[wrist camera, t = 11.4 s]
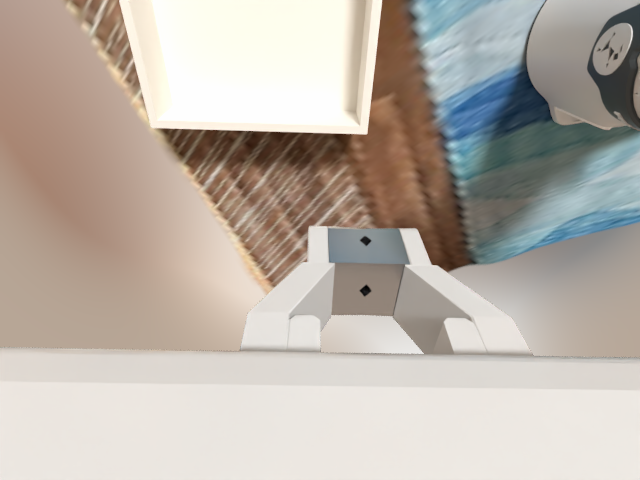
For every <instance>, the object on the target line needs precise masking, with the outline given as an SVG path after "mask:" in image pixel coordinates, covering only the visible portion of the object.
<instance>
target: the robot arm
mask: <svg viewBox="0 0 640 480" xmlns="http://www.w3.org/2000/svg"><path fill="white" fill-rule="evenodd" d="M527 69H528V74H529V77H530V80H531V82H532V84H533V86H534V87H535V89H536V90H537V91H538V92H539V93H540V94H541V95H542V96H543V97H544V98H545V99H546V100H547V102H548V104H549V108H550V113H551V116H552V119H553V120H554V122H556V123H558V124H560V125H571V124H577V123H583V122H586V123H589V124H591V125H593V126H596V127H598V128H600V129H604V130H610V129H611V128H612V127H622V126H629V127H631V128H633V129H635V130H638V131H640V0H547V1H546V2H545V4H544V6H543V7H542V9H541V11H540V13H539V14H538V17H537V19H536V21H535V23H534V25H533V28H532V31H531V34H530V38H529V42H528V47H527ZM331 315H378V316H379V315H381V316H393V318H394V319H395V320H396V322H397V323H398V324H399V325H400V326H401V327H402V328H403V330H404V331H405V332H406V333H407V334H408V335H409V336H410V338H411V339H412V340H413V341H414V342H415V343H416V345H417V346H418V347H419V348H420V349H421V350H422V352H423V353H424V354H385V353H384V354H383V353H321V342H320V341H321V339H320V338H321V337H320V332H321V331H322V329H323V328H324V326H325V325H326V323H327V322H328V321H329V319H330V318H331ZM0 480H640V358H630V357H628V358H627V357H624V358H623V357H557V356H556V357H554V356H533V354H532V352H531V350H530V349H529V347H528V345H527V343H526V341H525V340H524V338H523V336H522V334H521V332H520V331H519V329H518V327H517V325H516V324H515V322H514V320H513V318H512V317H510V316H508V315H507V314H506V313H504V312H503V311H502V310H500V309H498V308H497V307H496V306H494V305H493V304H492V303H490V302H489V301H487V300H486V299H484V298H483V297H482V296H480V295H479V294H477V293H476V292H474V291H473V290H472V289H470V288H469V287H467V286H466V285H464V284H463V283H461V282H460V281H459V280H457V279H456V278H454V277H453V276H452V275H450V274H449V273H447V272H446V271H444V270H443V269H442V268H440V267H439V266H437V265H432V264H431V262H430V259H429V257H428V254H427V252H426V249H425V247H424V244H423V242H422V239H421V237H420V234H419V232H418V230H417V229H416V228H398V229H369V228H352V227H330V226H328V227H327V226H309V228H308V255H307V262H302V263H301V264H300V265H299V266H298V267H296V268H295V269H294V270H293V271H292V272H291V273H290V274H289V275H288V276H287V277H286V278H285V279H284V280H282V281H281V282H280V283H279V284H278V285H277V286H276V287H275V288H274V289H273V290H272V291H271V292H269V293H268V294H267V295H266V296H265V297H264V298H263V299H262V300H261V301H260V302H259V303H258V304H256V306H254V307H253V308H252V309H251V310H250V311H249V312H248V314H247V319H246V323H245V328H244V333H243V337H242V342H241V347H240V351H197V350H196V351H195V350H191V351H190V350H135V349H132V350H131V349H76V348H75V349H73V348H72V349H71V348H17V347H16V348H15V347H0Z"/></svg>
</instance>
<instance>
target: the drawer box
mask: <svg viewBox="0 0 640 480" xmlns="http://www.w3.org/2000/svg"><path fill="white" fill-rule="evenodd" d="M119 2H120V6H121V10H122V14H123V18H124V22H125V26H126V30H127V34H128V38H129V42H130V46H131V50H132V53H133V57H134V61H135V65H136V69H137V73H138V77H139V81H140V85H141V89H142V93H143V97H144V101H145V105H146V109H147V113H148V117H149V121H150V125H151V128H170V129H204V130H237V131H271V132H304V133H337V134H367V131H368V122H369V113H370V104H371V95H372V86H373V77H374V68H375V59H376V50H377V41H378V32H379V23H380V14H381V6H382V0H119Z"/></svg>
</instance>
